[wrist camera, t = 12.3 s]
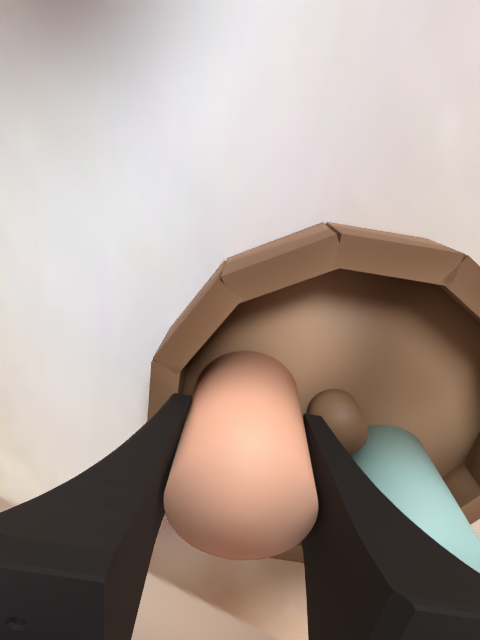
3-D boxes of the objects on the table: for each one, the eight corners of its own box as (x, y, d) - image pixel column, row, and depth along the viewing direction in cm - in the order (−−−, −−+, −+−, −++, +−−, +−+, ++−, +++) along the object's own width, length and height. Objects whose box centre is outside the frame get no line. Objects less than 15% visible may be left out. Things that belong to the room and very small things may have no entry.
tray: (154, 490, 18) (139, 538, 16) (180, 197, 13) (162, 203, 10) (430, 533, 18) (455, 585, 16) (570, 262, 13) (639, 282, 11)
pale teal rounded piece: (321, 492, 16) (346, 621, 12) (339, 420, 15) (376, 534, 10) (410, 502, 16) (471, 634, 12) (437, 430, 15) (520, 550, 10)
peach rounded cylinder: (193, 433, 15) (163, 553, 10) (195, 346, 13) (162, 439, 9) (291, 442, 15) (306, 566, 10) (304, 355, 13) (330, 454, 9)
